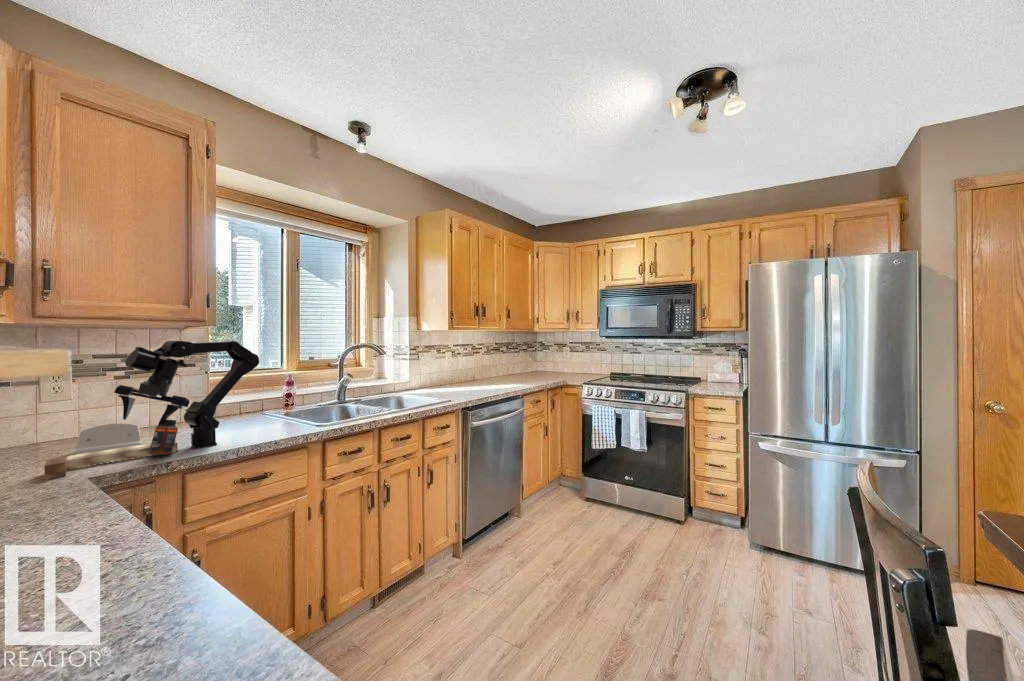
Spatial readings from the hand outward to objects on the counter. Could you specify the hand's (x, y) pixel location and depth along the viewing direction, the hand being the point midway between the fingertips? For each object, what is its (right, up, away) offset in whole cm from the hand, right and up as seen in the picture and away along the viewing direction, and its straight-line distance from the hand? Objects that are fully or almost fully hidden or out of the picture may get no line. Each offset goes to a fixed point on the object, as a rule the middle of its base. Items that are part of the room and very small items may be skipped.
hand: (141, 422), depth 134 cm
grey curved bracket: (-22, -12, +12) cm, 28 cm away
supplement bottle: (+3, -11, +3) cm, 12 cm away
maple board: (-7, -12, +2) cm, 14 cm away
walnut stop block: (-13, -12, -14) cm, 22 cm away
